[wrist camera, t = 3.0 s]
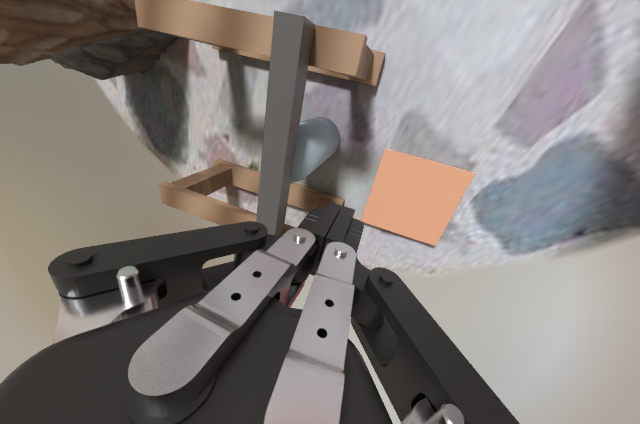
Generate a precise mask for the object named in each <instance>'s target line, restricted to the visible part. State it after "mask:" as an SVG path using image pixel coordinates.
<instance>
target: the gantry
mask: <svg viewBox="0 0 640 424" xmlns="http://www.w3.org/2000/svg"><path fill="white" fill-rule="evenodd" d="M135 7H136V14H137V22H138V27H142V28H146V29H150V30H154V31H158V32H162V33H166V34H170V35H174V36H178V37H182V38H186V39H190V40H194V41H198V42H202V43H206V44H210V45H212V48H213V49H217V50H222V51H226V52H230V53H235V54H239V55H243V56H248V57H252V58H256V59H261V60H265V61H269V62H270V55H271V44H272V32H273V20H274V17H271V16H266V15H261V14H256V13H251V12H246V11H240V10H235V9H230V8H225V7H220V6H215V5H210V4H205V3H200V2H195V1H190V0H135ZM366 41H367V37H366V35H363V34H358V33H352V32H347V31H342V30H337V29H332V28H327V27H322V26H317V25H315V26H314V33H313V39H312V46H311V52H310V59H309V65H308V71H312V72H317V73H321V74H325V75H329V76H334V77H338V78H342V79H347V80H351V81H355V82H360V83H364V84H368V85H373V86H377V82H378V79H379V75H380V72H381V68H382V65H383V61H384V57H385V53H383V52H378V51H374V50H370V48H369V47H368V46H367V45H366ZM228 184H230V185H233V186H236V187H239V188H242V189H245V190H248V191H251V192H254V193H257V194H259V184H260V172H258V171H255V170H252V169H249V168H245V167H242V166H239V165H236V164H233V163H230V162H227V161H224V160H221V159H216V160H214V167H211V168H208V169H206V170H203V171H201V172H198V173H195V174H193V175H190V176H187V177H185V178H182V179H180V180H177V181H174V182H172V183H169V182H165V183H162V184H160V185H159V186H160V194H161V201H162V203H163V204H166V205H168V206H171V207H174V208H176V209H179V210H182V211H184V212H187V213H190V214H192V215H195V216H198V217H200V218H203V219H206V220H208V221H211V222H214V223H216V224H219V225H228V224H234V223H240V222H246V221H254V222H256V219H257V214H256V213H253V212H250V211H248V210H245V209H242V208H239V207H236V206H233V205H231V204H228V203H225V202H222V201H219V200H217V199H214V198H211V197H208V196H207V195H209V194H211V193H213V192H215V191H217V190H219V189H221V188H223V187H225V186H226V185H228ZM329 202H333V203H336V204H339V205H342V206H343V203H344V199H342V198H339V197H336V196H333V195H329V194H326V193H323V192H320V191H317V190H314V189H311V188H308V187H305V186H301V185H298V184H295V183H292V182H291V183H290V189H289V196H288V202H287V204H289V205H292V206H295V207H298V208H301V209H304V210H307V211H311V210H312V209H314V208H316V207H321V208H324V209H325V208H326V206H327V205H328V203H329ZM308 214H309V213H308ZM305 218H306V217H305ZM305 218H304V219H305ZM301 223H302V222H301ZM301 223H300V224H301ZM293 228H295V227H293V226H290V225H287V224H284V228H283V235H284V234H285V233H286V232H287V231H288V230H290V229H293ZM297 228H298V227H297ZM283 235H282V236H283Z"/></svg>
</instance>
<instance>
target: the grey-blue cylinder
mask: <svg viewBox="0 0 640 424" xmlns="http://www.w3.org/2000/svg"><path fill="white" fill-rule="evenodd" d="M339 143H340V134H339V131H338V129H337V127H336V125H335V124H334V123H333V122H332V121H330V120H329V119H326V118H322V117H318V118H314V119H310V120H306V121H303V122H300V124H299V130H298V137H297V143H296V150H295V157H294V163H293V170H292V176H291V182H297V181H300V180H303V179H304V178H306V177H307V176H308V175H309V174H310V173H311V172H313V171H314V170H315V169H316V168H317V167H319V166H320V165H321V164H322V163H323V162H324V161H326V160H327V159H328V158H329V157H330V156H332V155H333V154H334V153H335V152H336V150H337V149H338V147H339Z"/></svg>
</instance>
